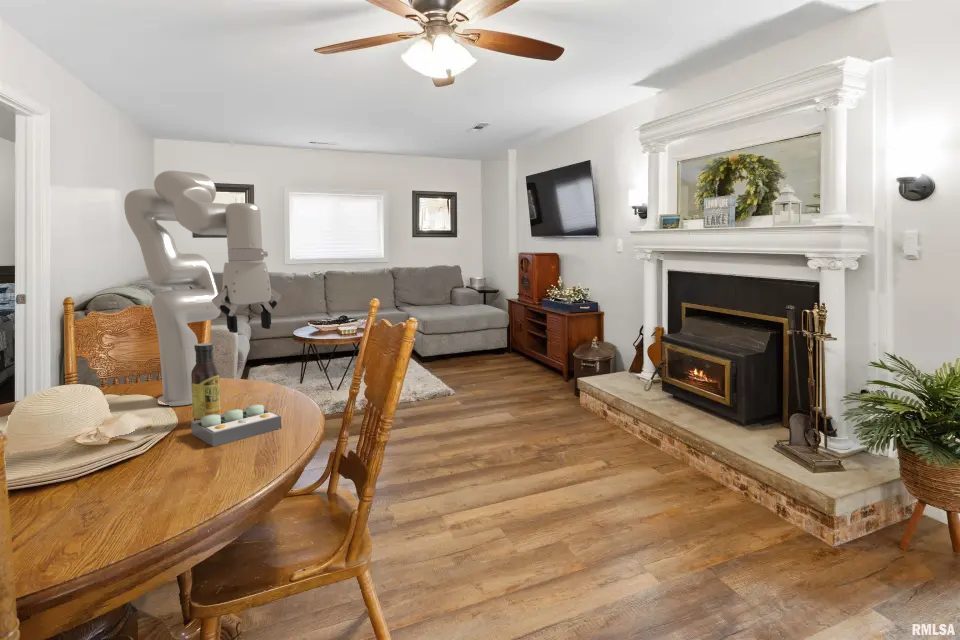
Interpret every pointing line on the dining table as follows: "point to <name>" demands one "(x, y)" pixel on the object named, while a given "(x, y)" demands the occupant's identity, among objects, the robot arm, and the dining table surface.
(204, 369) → the sauce bottle
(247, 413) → the end button
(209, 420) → the end button
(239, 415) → the middle button
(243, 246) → the robot arm
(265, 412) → the button board
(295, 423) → the dining table surface
